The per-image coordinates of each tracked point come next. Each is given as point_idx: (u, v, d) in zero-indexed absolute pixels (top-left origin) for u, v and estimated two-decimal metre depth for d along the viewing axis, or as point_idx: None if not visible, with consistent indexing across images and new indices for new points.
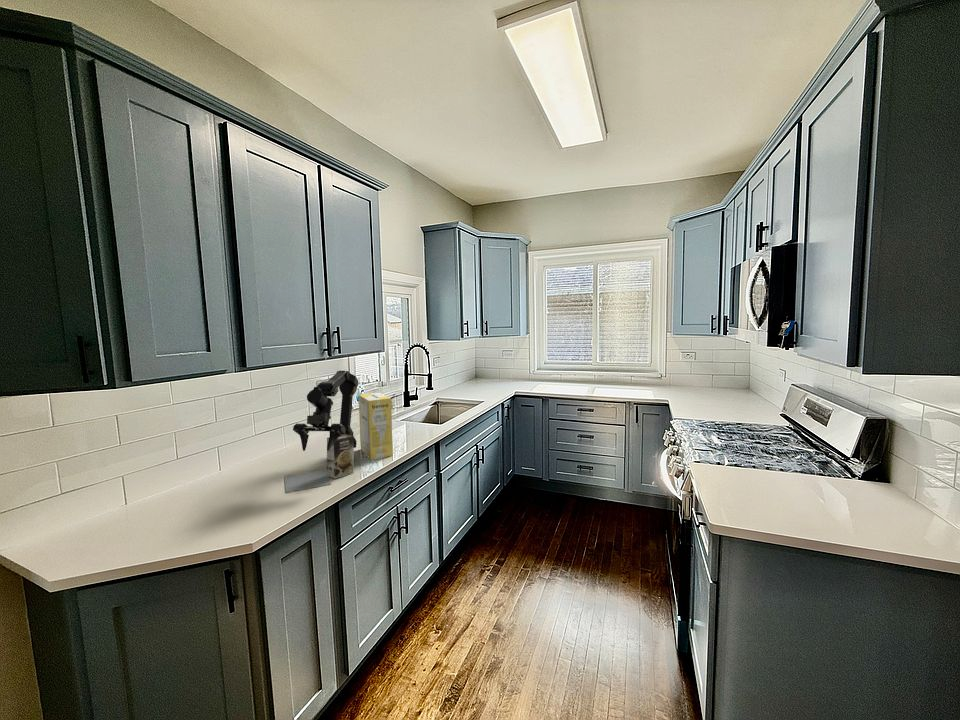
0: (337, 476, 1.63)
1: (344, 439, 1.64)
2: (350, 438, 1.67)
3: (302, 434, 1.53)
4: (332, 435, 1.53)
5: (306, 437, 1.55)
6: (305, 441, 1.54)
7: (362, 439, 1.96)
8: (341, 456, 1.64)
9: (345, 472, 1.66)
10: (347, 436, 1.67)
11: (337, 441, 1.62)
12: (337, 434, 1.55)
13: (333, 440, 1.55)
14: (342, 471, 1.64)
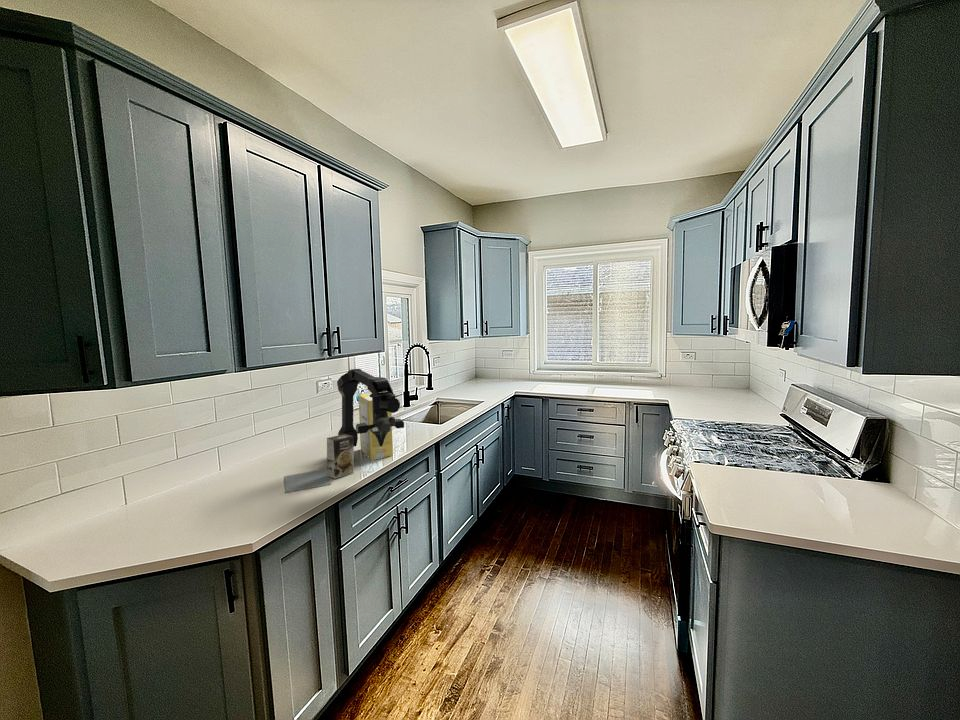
0: (337, 476, 1.63)
1: (344, 439, 1.64)
2: (350, 438, 1.67)
3: (379, 434, 1.61)
4: (385, 433, 1.62)
5: None
6: None
7: (362, 439, 1.96)
8: (341, 456, 1.64)
9: (345, 472, 1.66)
10: (347, 436, 1.67)
11: (337, 441, 1.62)
12: None
13: None
14: (342, 471, 1.64)
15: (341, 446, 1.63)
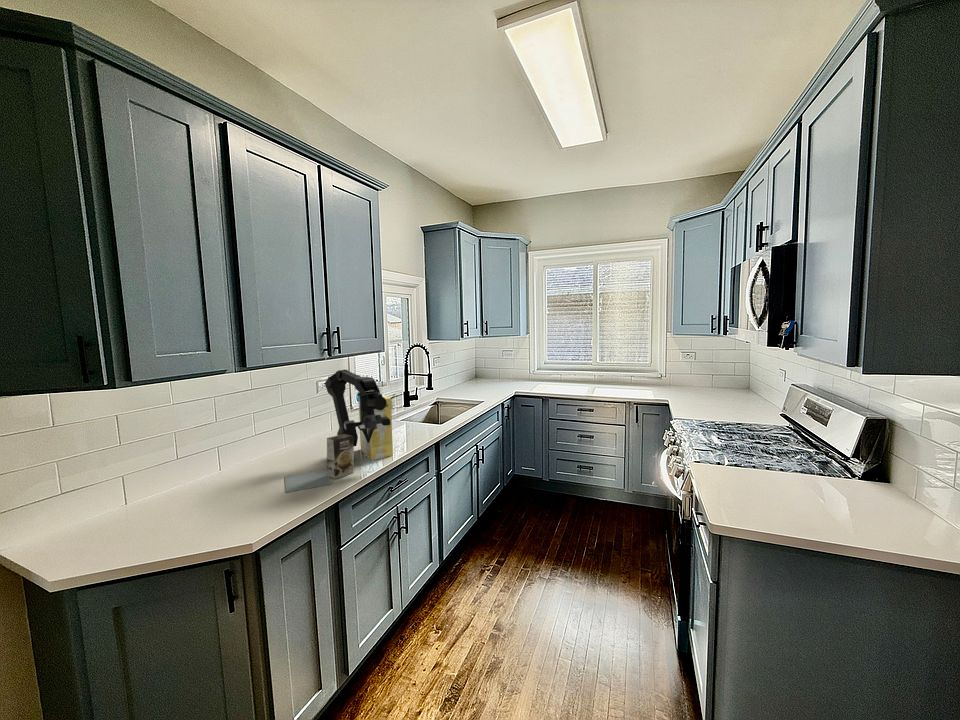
0: (337, 476, 1.63)
1: (344, 439, 1.64)
2: (350, 438, 1.67)
3: (366, 430, 1.69)
4: (372, 430, 1.71)
5: None
6: None
7: (362, 439, 1.96)
8: (341, 456, 1.64)
9: (345, 472, 1.66)
10: (347, 436, 1.67)
11: (337, 441, 1.62)
12: None
13: None
14: (342, 471, 1.64)
15: (341, 446, 1.63)
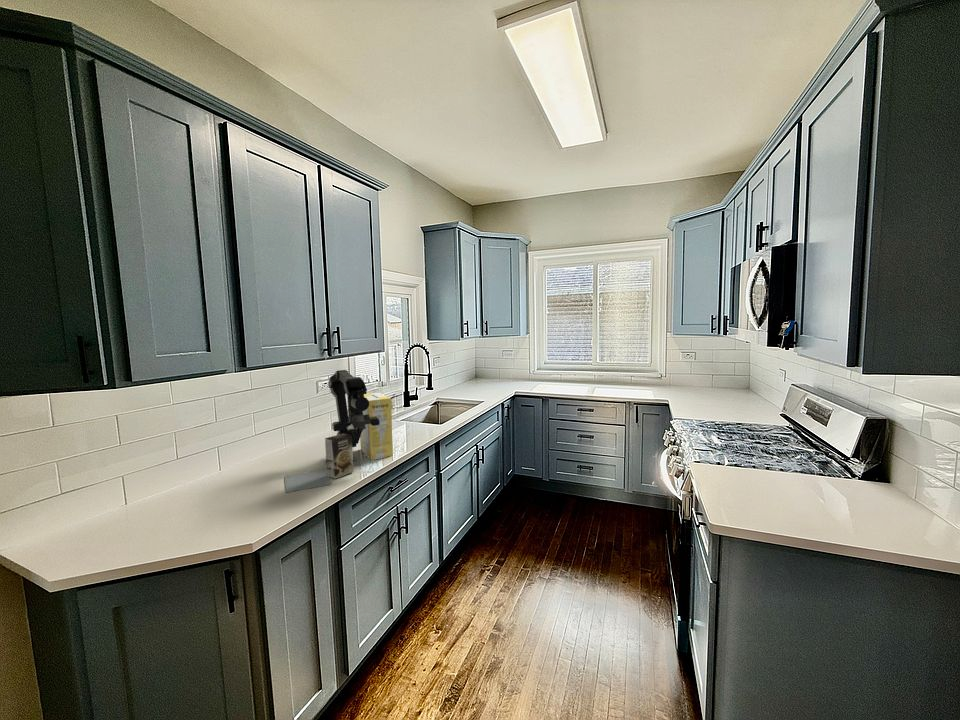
0: (337, 476, 1.63)
1: (342, 439, 1.64)
2: (348, 437, 1.66)
3: (355, 431, 1.67)
4: (361, 431, 1.68)
5: None
6: None
7: (362, 439, 1.96)
8: (340, 456, 1.63)
9: (345, 471, 1.66)
10: (345, 436, 1.67)
11: (335, 441, 1.61)
12: None
13: None
14: (341, 471, 1.64)
15: (340, 446, 1.63)
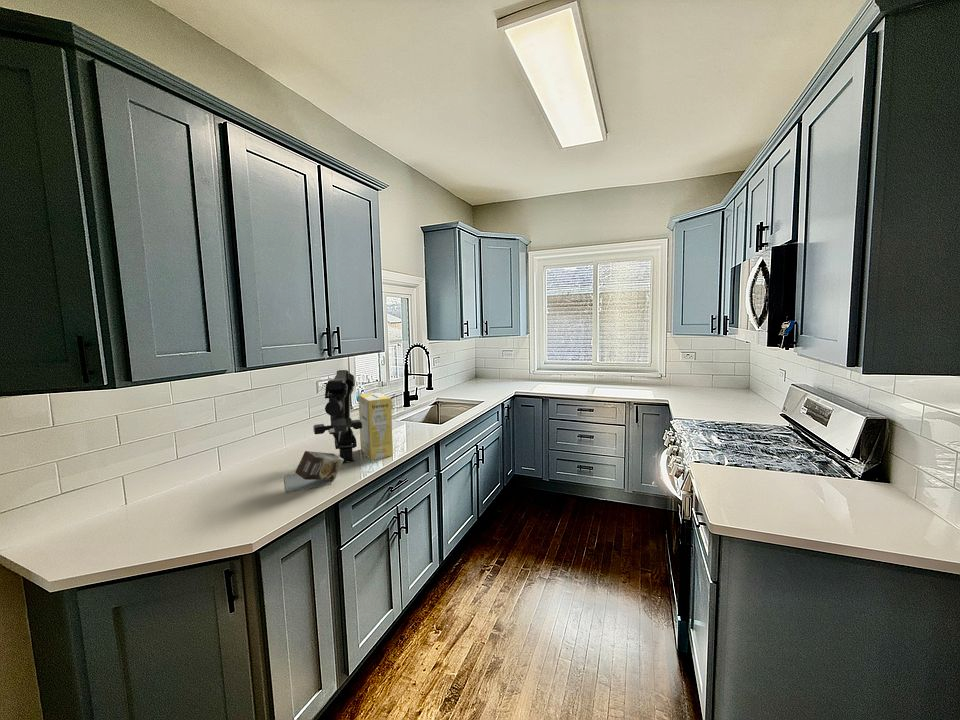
0: (334, 477, 1.62)
1: (311, 469, 1.49)
2: (314, 461, 1.49)
3: (336, 434, 1.63)
4: (343, 434, 1.65)
5: None
6: (337, 438, 1.66)
7: (362, 439, 1.96)
8: (322, 472, 1.55)
9: (337, 469, 1.61)
10: (310, 461, 1.49)
11: (307, 477, 1.48)
12: None
13: None
14: (334, 472, 1.60)
15: (314, 473, 1.51)
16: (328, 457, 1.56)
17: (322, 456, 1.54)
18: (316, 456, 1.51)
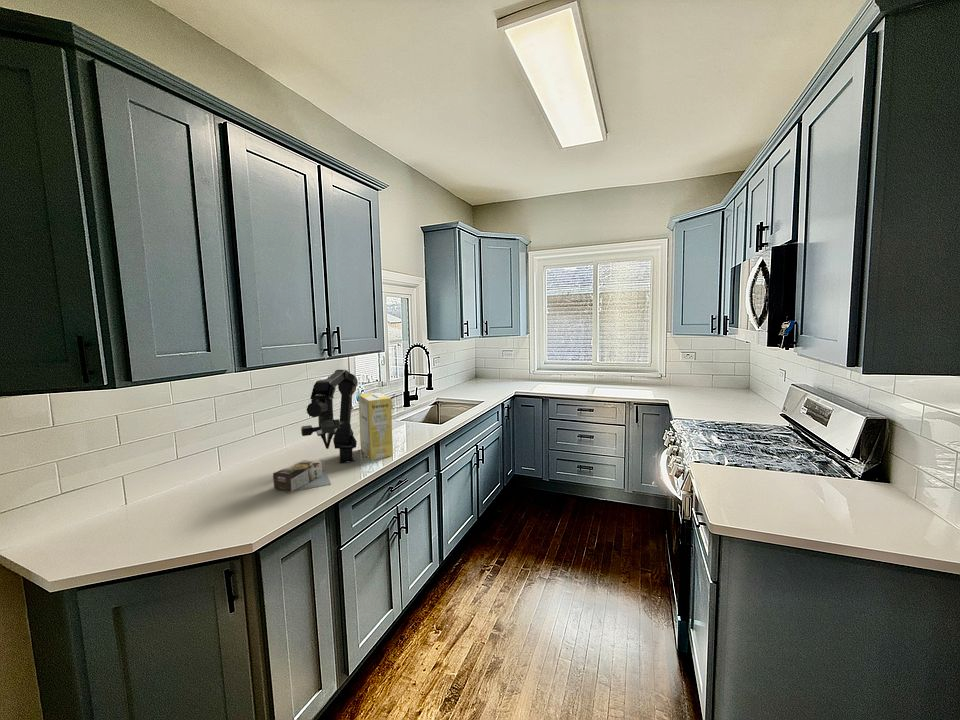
0: (318, 462, 1.64)
1: (282, 473, 1.51)
2: (277, 473, 1.52)
3: (324, 436, 1.61)
4: (331, 436, 1.63)
5: None
6: None
7: (362, 439, 1.96)
8: (299, 468, 1.57)
9: (309, 461, 1.64)
10: (277, 477, 1.52)
11: (289, 474, 1.50)
12: None
13: None
14: (311, 462, 1.63)
15: (291, 471, 1.53)
16: None
17: None
18: None
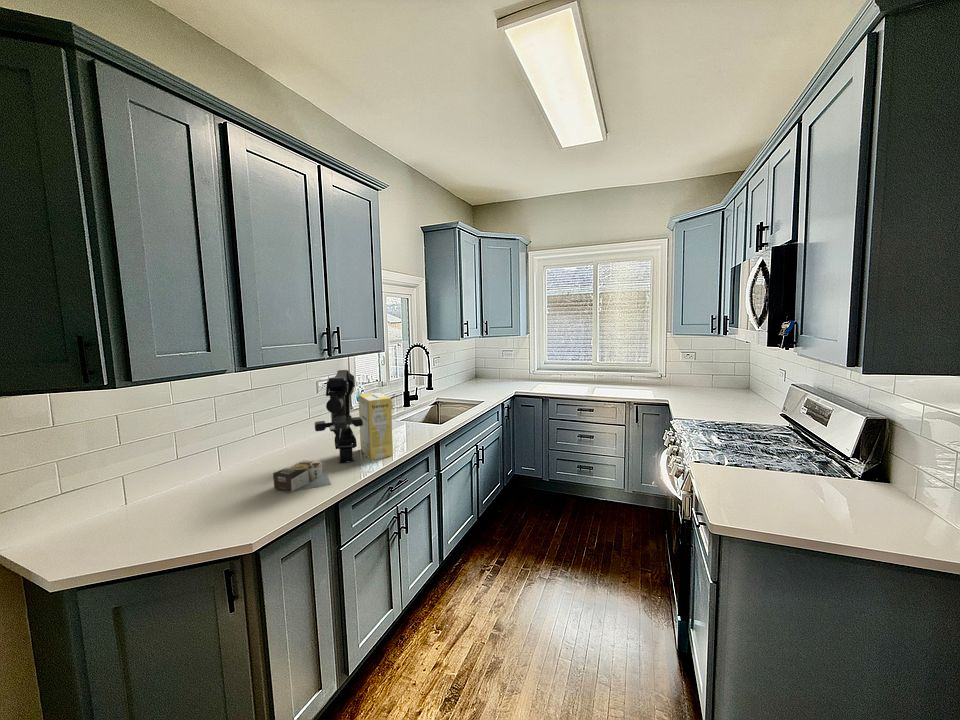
0: (318, 462, 1.64)
1: (283, 474, 1.51)
2: (277, 472, 1.52)
3: (337, 431, 1.65)
4: (344, 431, 1.66)
5: None
6: (338, 435, 1.67)
7: (362, 439, 1.96)
8: (299, 468, 1.57)
9: (310, 461, 1.64)
10: (277, 477, 1.52)
11: (290, 475, 1.50)
12: None
13: None
14: (311, 462, 1.63)
15: (291, 471, 1.53)
16: None
17: None
18: None
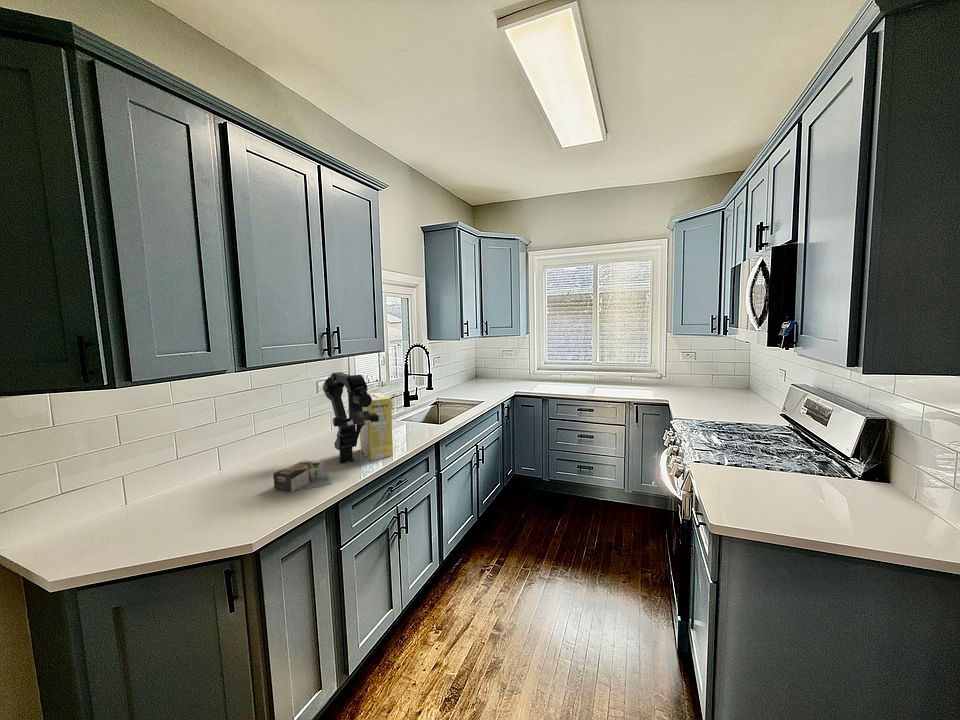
0: (318, 462, 1.64)
1: (283, 474, 1.51)
2: (277, 472, 1.52)
3: (354, 427, 1.72)
4: (361, 426, 1.73)
5: None
6: (355, 430, 1.74)
7: (362, 439, 1.96)
8: (299, 468, 1.57)
9: (310, 461, 1.64)
10: (277, 477, 1.52)
11: (290, 475, 1.50)
12: None
13: None
14: (311, 462, 1.63)
15: (291, 471, 1.53)
16: None
17: None
18: None
